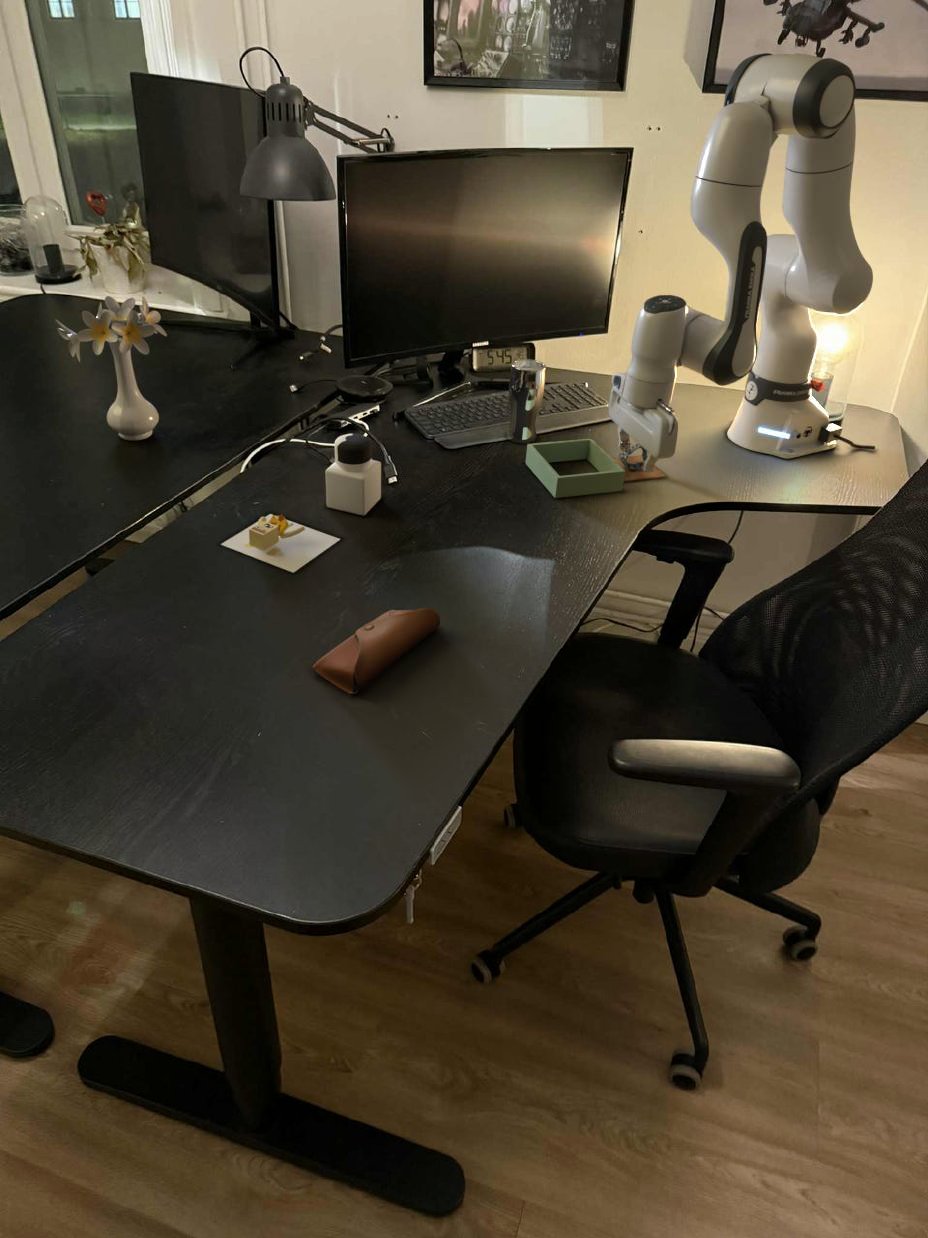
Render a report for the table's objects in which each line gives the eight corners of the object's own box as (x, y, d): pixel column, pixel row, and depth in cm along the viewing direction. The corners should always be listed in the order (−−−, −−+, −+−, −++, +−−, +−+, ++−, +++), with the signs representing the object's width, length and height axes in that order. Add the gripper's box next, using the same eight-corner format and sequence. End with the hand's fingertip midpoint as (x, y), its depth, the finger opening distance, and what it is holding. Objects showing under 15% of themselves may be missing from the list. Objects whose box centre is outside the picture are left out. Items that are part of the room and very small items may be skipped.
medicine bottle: (381, 498, 151) (381, 434, 143) (364, 516, 145) (363, 451, 138) (344, 490, 152) (342, 426, 145) (326, 507, 147) (323, 442, 140)
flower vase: (70, 438, 162) (40, 302, 148) (156, 412, 174) (136, 284, 159) (108, 461, 156) (80, 321, 141) (195, 433, 168) (177, 301, 153)
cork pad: (642, 457, 171) (642, 455, 170) (665, 477, 164) (665, 475, 164) (601, 461, 168) (601, 459, 168) (622, 482, 161) (623, 480, 161)
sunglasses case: (392, 605, 124) (412, 580, 119) (425, 641, 123) (447, 617, 118) (307, 669, 111) (326, 644, 106) (344, 709, 111) (365, 686, 106)
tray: (588, 457, 169) (591, 438, 167) (621, 490, 158) (625, 471, 156) (525, 463, 165) (527, 443, 163) (555, 498, 154) (557, 477, 152)
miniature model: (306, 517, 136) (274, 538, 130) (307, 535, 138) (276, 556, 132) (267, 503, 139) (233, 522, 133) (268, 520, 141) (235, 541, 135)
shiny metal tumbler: (536, 446, 172) (544, 373, 163) (501, 441, 173) (508, 368, 164) (540, 432, 177) (549, 361, 169) (507, 428, 178) (514, 356, 169)
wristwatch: (628, 470, 168) (615, 454, 165) (651, 455, 166) (638, 438, 163) (633, 479, 165) (620, 463, 162) (656, 463, 164) (643, 446, 161)
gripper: (692, 411, 150) (676, 482, 158) (637, 369, 165) (625, 436, 173) (660, 413, 148) (646, 486, 156) (608, 371, 163) (597, 439, 172)
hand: (635, 459), depth 165 cm, fingers open, 8 cm apart
